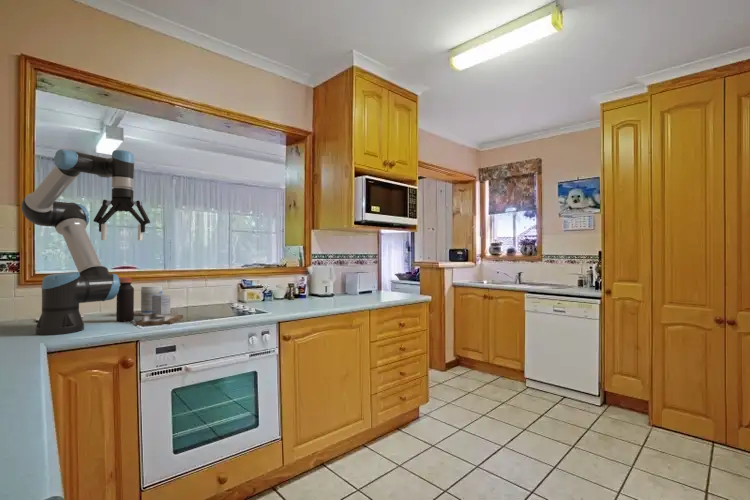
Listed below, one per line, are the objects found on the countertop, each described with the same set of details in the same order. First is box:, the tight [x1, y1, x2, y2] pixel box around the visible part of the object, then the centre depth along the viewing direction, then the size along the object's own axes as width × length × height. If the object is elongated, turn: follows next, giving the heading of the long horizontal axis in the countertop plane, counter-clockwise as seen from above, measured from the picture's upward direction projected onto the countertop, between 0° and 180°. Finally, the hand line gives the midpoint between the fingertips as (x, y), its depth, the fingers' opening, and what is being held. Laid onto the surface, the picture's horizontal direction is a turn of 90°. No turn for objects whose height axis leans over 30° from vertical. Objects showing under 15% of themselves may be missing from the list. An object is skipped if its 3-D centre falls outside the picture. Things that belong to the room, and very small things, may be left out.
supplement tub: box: [140, 285, 163, 317], centre depth 199 cm, size 10×10×15 cm
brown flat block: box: [135, 310, 184, 327], centre depth 178 cm, size 14×18×4 cm
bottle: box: [115, 277, 135, 323], centre depth 180 cm, size 7×7×20 cm
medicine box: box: [152, 293, 171, 315], centre depth 179 cm, size 8×4×9 cm, turn 58°
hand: (122, 240), depth 160 cm, fingers open, 13 cm apart
